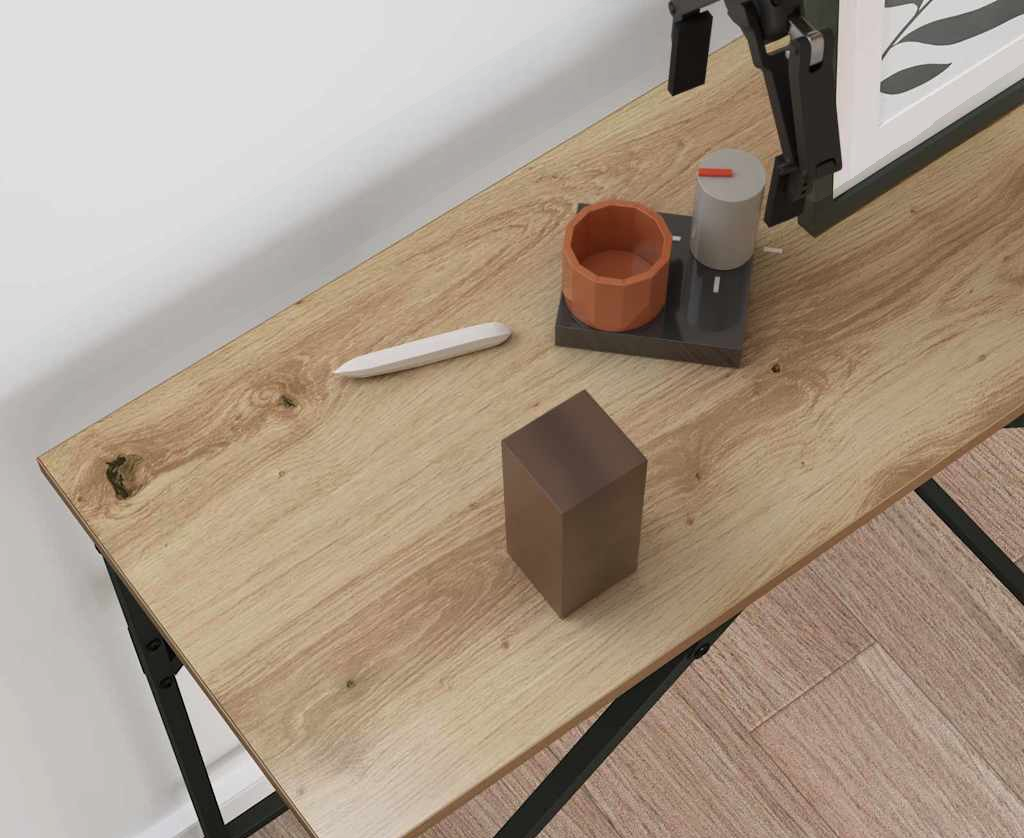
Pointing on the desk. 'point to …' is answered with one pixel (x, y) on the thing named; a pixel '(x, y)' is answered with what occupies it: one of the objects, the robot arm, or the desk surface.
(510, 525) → the stand
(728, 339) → the stove
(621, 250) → the bowl
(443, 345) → the pen
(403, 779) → the desk surface
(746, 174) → the knob
